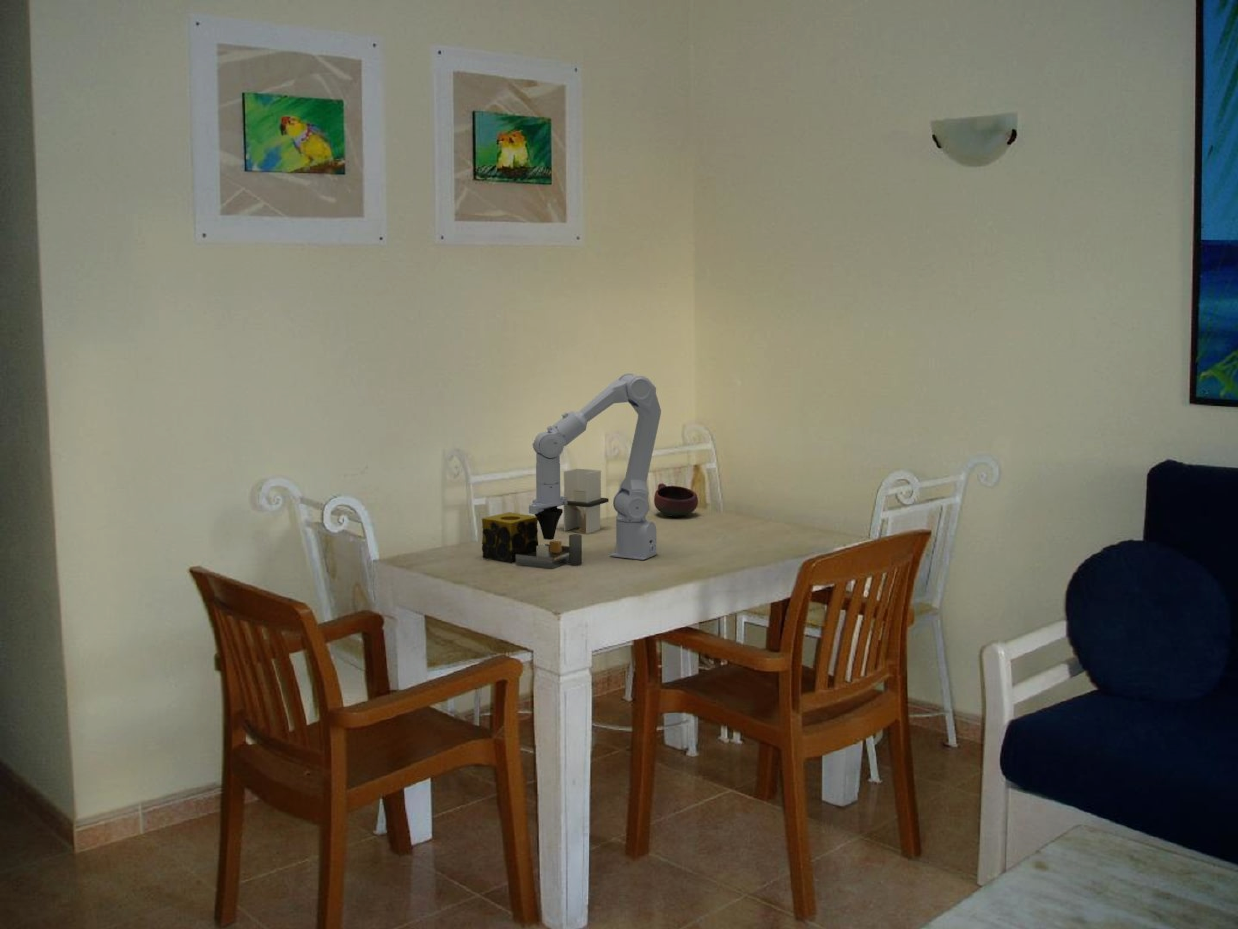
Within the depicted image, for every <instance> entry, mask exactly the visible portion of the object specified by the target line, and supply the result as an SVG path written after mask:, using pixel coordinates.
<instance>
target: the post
mask: <svg viewBox="0 0 1238 929" xmlns="http://www.w3.org/2000/svg"><path fill="white" fill-rule="evenodd" d="M582 537H583V536H582V534H581V533H572V534H569V535H568V546H569V563H568V565H569V566H571V567H572V566H573V567H577V566H582V565H583V551H582V550H583V541H582V540H583V539H582Z"/></svg>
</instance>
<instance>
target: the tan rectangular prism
mask: <svg viewBox="0 0 1238 929" xmlns="http://www.w3.org/2000/svg"><path fill="white" fill-rule="evenodd" d="M549 544H550V552H556V553H559V552H562V546H563V545H562V541H561V540H554V539H552V540H549Z"/></svg>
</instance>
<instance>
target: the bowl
mask: <svg viewBox="0 0 1238 929" xmlns="http://www.w3.org/2000/svg"><path fill="white" fill-rule="evenodd" d="M698 498H699V497H698V495H697V493H696V492H695V491H693V490H692V489H690V488H687V487H683V486H677V485H666V484H664V483H659V484H658V485H657V489H656V491H655V493H654V499H653V500H654V501H653V502H654V506H655V508H656V509H657V511H659V513H661V514H663V515H667V516H669V517H673V516H680V517H685V516H688V515H690V514H693V512H694V511H696V509H697V507H698V504H699V499H698ZM684 515H685V516H684Z"/></svg>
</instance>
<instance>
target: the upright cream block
mask: <svg viewBox="0 0 1238 929" xmlns="http://www.w3.org/2000/svg"><path fill="white" fill-rule="evenodd" d="M536 553H537V556H540V557H548V556H549V546H546V545H545V544H538V546H536Z"/></svg>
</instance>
